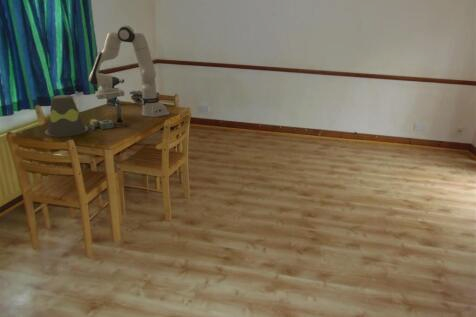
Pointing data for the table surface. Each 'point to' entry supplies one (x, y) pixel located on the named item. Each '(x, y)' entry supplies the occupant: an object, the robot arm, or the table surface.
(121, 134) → the table surface
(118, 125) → the rack
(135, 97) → the dark grey irregular piece
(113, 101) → the impact wrench
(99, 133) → the table surface
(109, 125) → the socket block
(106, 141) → the table surface
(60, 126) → the banded grey frustum
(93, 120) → the drift key
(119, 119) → the drill bit
